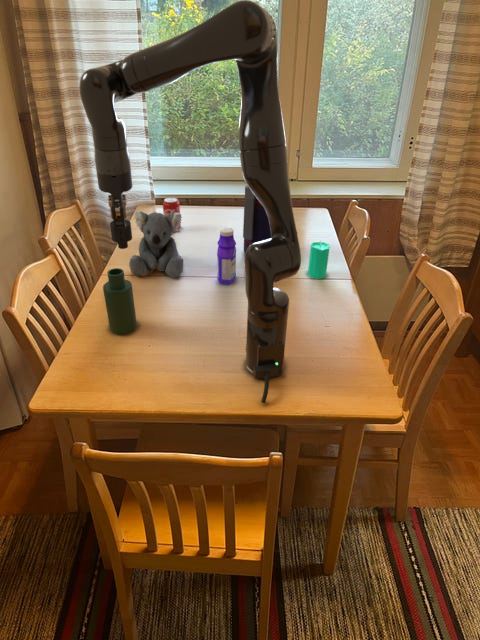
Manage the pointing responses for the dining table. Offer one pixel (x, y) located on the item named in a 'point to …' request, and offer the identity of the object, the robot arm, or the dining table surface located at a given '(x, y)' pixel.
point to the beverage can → (171, 207)
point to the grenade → (254, 220)
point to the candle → (318, 260)
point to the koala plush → (157, 245)
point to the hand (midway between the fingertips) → (122, 238)
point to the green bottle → (119, 303)
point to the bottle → (226, 256)
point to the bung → (128, 233)
